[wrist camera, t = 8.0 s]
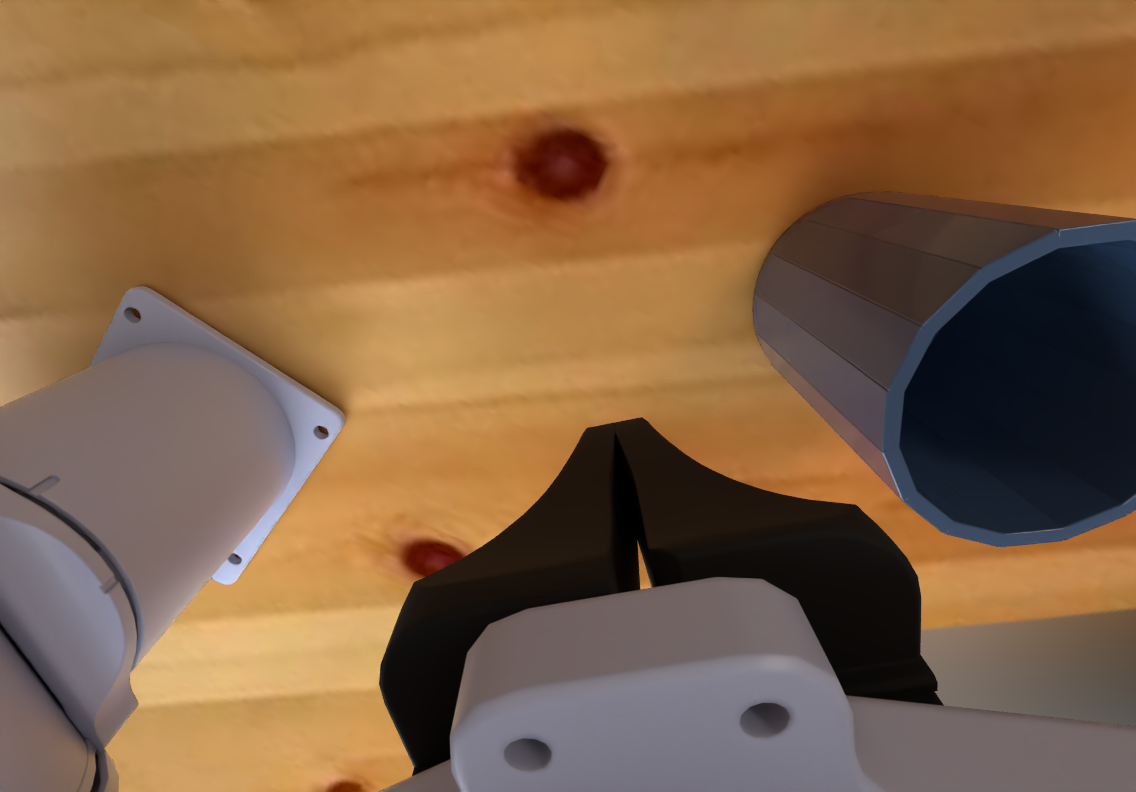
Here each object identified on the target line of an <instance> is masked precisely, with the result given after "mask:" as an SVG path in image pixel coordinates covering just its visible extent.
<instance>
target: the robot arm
mask: <svg viewBox="0 0 1136 792" xmlns="http://www.w3.org/2000/svg"><path fill="white" fill-rule="evenodd" d="M133 308H135V309H136V310H137V311H138V312H139V313H140V316H141V318H140V319H138V318H137V317H136V316H134V314H133V311H132V310H133ZM344 424H345V416H344V414H343V412H342V411H341V410H340V409H339V408H337V407H336V406H334V405H333V404H331V403H329V402H328V401H326V400H325V399H323V398H322V397H320V396H318V395H317V394H315V393H314V392H312V391H311V390H309V389H307V388H306V387H304V386H303V385H301V384H300V383H298V382H296V381H295V380H293V379H292V378H290V377H289V376H287V375H285V374H284V373H282V372H281V371H279V370H278V369H276V368H274V367H273V366H271V365H270V364H268V363H267V362H265V361H264V360H262V359H260V358H259V357H257V356H256V355H254V354H253V353H251V352H249V351H248V350H246V349H245V348H243V347H242V346H240V345H238V344H237V343H235V342H234V341H232V340H231V339H229V338H227V337H226V336H224V335H223V334H221V333H220V332H218V331H216V330H215V329H213V328H212V327H210V326H209V325H207V324H206V323H204V322H202V321H201V320H199V319H198V318H196V317H195V316H193V315H191V314H190V313H188V312H187V311H185V310H184V309H182V308H180V307H179V306H177V305H176V304H174V303H173V302H171V301H169V300H168V299H166V298H165V297H163V296H162V295H160V294H158V293H157V292H155V291H154V290H152V289H150V288H148V287H146V286H138V287H134V288H131V289H129V290H127V291H126V293H125V294H124V296H123V298H122V300H121V302H120V304H119V306H118V308H117V310H116V312H115V314H114V316H113V318H112V320H111V322H110V324H109V327H108V329H107V331H106V333H105V335H104V337H103V339H102V341H101V343H100V345H99V347H98V349H97V351H96V353H95V355H94V357H93V359H92V361H91V363H90V365H89V367H88V368H87V369H85V370H83V371H80V372H78V373H76V374H74V375H71V376H69V377H67V378H65V379H62V380H60V381H58V382H56V383H53V384H51V385H49V386H47V387H44V388H42V389H40V390H37V391H35V392H33V393H31V394H28V395H26V396H24V397H22V398H19V399H17V400H15V401H13V402H10V403H8V404H6V405H4V406H1V407H0V792H119V777H118V773H117V770H116V767H115V764H114V761H113V760H112V759H111V757H110V756H109V754H108V753H107V752H106V750H105V749H104V748H105V747H106V746H107V744H108V743H109V742H110V740H111V739H112V738H113V737H114V735H115V734H116V733H117V732H118V730H119V729H120V728H121V726H122V725H123V724H124V723H125V721H126V720H127V719H128V718H129V716H130V715H131V714H132V712H133V711H134V710H135V709H136V707H137V706H138V701H137V699H136V697H135V695H134V693H133V692H132V689H131V685H130V673H131V671H132V670H133V669H134V668H135V667H136V666H137V664H138V663H139V662H140V661H141V660H142V658H143V657H144V656H145V655H146V654H147V653H148V651H149V650H150V649H151V648H152V647H153V646H154V644H155V643H156V642H157V641H158V640H159V638H160V637H161V636H162V635H163V634H164V633H165V631H166V630H167V629H168V628H169V627H170V625H171V624H172V623H173V622H174V621H175V620H176V618H177V617H178V616H179V615H180V614H181V613H182V611H183V610H184V609H185V608H186V607H187V605H188V604H189V603H190V602H191V601H192V600H193V598H194V597H195V596H196V595H197V594H198V592H199V591H200V590H201V589H202V588H203V587H204V585H205V584H206V583H207V582H208V581H209V579H210V578H211V579H213V580H215V581H217V582H219V583H221V584H232V583H234V582H235V581H236V580H237V579H238V577H239V576H240V575H241V573H242V572H243V570H244V569H245V568H246V566H247V565H248V563H249V562H250V560H251V559H252V558H253V556H254V555H255V553H256V552H257V550H258V549H259V547H260V546H261V545H262V543H263V542H264V540H265V539H266V537H267V536H268V534H269V533H270V532H271V530H272V529H273V527H274V526H275V524H276V523H277V522H278V520H279V519H280V517H281V516H282V514H283V513H284V511H285V510H286V509H287V507H288V506H289V504H290V503H291V501H292V500H293V498H294V497H295V496H296V494H297V493H298V491H299V490H300V488H301V487H302V486H303V484H304V483H305V481H306V480H307V478H308V477H309V475H310V474H311V473H312V471H313V470H314V468H315V467H316V465H317V464H318V462H319V461H320V460H321V458H322V457H323V455H324V454H325V452H326V451H327V450H328V448H329V447H330V445H331V444H332V442H333V441H334V439H335V438H336V437H337V435H338V434H339V432H340V431H341V429H342V428H343V426H344ZM318 426H323V427H325V428H326V429H327V430H328V433H329V434H323V433H321V432H320V431H319V429H318ZM637 540H638V543H639V546H640V550H641V553H642V556H643V560H644V563H645V566H646V570H647V573H648V576H649V579H650V583H651V586H652V588H648V589H642V590H640V578H639V560H638V543H637ZM234 554H237V555H239V556H240V557H241V558H238V557H236V556H235V555H234ZM920 637H921V593H920V587H919V581H918V576H917V574H916V573H915V571H914V569H913V568H912V566H911V564H910V562H909V561H908V559H907V557H906V556H905V555H904V554H903V553H902V551H901V550H900V549H899V548H898V547H897V545H896V544H895V543H894V542H893V541H892V539H891V538H890V537H889V536H888V535H887V534H886V533H885V532H884V531H883V530H882V529H881V528H880V527H879V526H878V525H877V524H876V523H875V522H874V521H873V520H872V519H871V518H869V517H868V516H867V515H866V514H865V513H864V512H863V511H862V510H861V509H860V508H859V507H858V506H857V505H854V504H844V503H835V502H825V501H816V500H808V499H802V498H797V497H792V496H787V495H782V494H778V493H774V492H770V491H766V490H762V489H759V488H756V487H753V486H750V485H747V484H744V483H741V482H738V481H736V480H733V479H731V478H728V477H726V476H724V475H722V474H719V473H717V472H715V471H713V470H711V469H709V468H707V467H705V466H703V465H701V464H700V463H698V462H696V461H695V460H693V459H692V458H690V457H689V456H687V455H686V454H684V453H683V452H682V451H680V450H679V449H678V448H676V447H675V446H674V445H673V444H671V443H670V442H669V441H668V440H666V439H665V438H664V437H663V436H662V435H661V434H660V433H658V432H657V431H656V430H655V429H654V428H653V427H652V426H651V425H650V423H649V422H648V421H646V420H645V419H644V418H642V417H641V418H636V419H631V420H626V421H621V422H616V423H610V424H605V425H600V426H595V427H590V428H587V429H586V430H585V431H584V433H583V434H582V436H581V438H580V440H579V442H578V444H577V446H576V448H575V449H574V451H573V453H572V455H571V456H570V458H569V459H568V461H567V463H566V464H565V466H564V467H563V469H562V470H561V472H560V473H559V475H558V476H557V478H556V479H555V480H554V482H553V483H552V484H551V486H550V487H549V488H548V490H547V491H546V492H545V493H544V494H543V495H542V496H541V498H540V499H539V500H538V501H537V502H536V503H535V504H534V505H533V506H532V507H531V508H530V509H529V510H528V511H527V512H526V513H525V514H523V515H522V516H521V517H520V518H519V519H518V520H516V521H515V522H514V523H513V524H511V525H510V526H509V527H508V528H506V529H505V530H504V531H503V532H502V533H500V534H499V535H498V536H496V537H495V538H494V539H492V540H491V541H489V542H488V543H486V544H485V545H483V546H482V547H480V548H479V549H477V550H475V551H474V552H472V553H471V554H469V555H467V556H466V557H464V558H462V559H460V560H459V561H457V562H455V563H453V564H451V565H449V566H447V567H445V568H443V569H441V570H439V571H437V572H435V573H433V574H431V575H429V576H427V577H425V578H423V579H420V580H418V581H416V582H414V584H413V586H412V588H411V590H410V592H409V594H408V596H407V598H406V600H405V602H404V604H403V606H402V609H401V612H400V614H399V617H398V619H397V622H396V624H395V627H394V630H393V633H392V635H391V638H390V641H389V643H388V646H387V649H386V652H385V654H384V657H383V660H382V662H381V668H380V681H379V685H380V689H381V692H382V696H383V699H384V703H385V705H386V707H387V710H388V712H389V714H390V716H391V718H392V720H393V723H394V725H395V727H396V729H397V731H398V733H399V735H400V738H401V740H402V742H403V744H404V746H405V748H406V751H407V753H408V755H409V757H410V759H411V761H412V764H413V766H414V771H413V775H412V777H410V778H407V779H405V780H403V781H401V782H399V783H396V784H394V785H392V786H390V787H388V788H385V789H383V790H381V791H379V792H1136V726H1130V725H1121V724H1111V723H1102V722H1092V721H1083V720H1073V719H1064V718H1055V717H1046V716H1036V715H1026V714H1017V713H1008V712H998V711H989V710H979V709H970V708H961V707H951V706H944V705H943V703H942V702H941V701H940V699H939V698H938V696H937V695H936V693H935V692H934V691H937V681H936V678H935V675H934V674H933V672H932V671H931V669H930V668H929V666H928V665H927V663H926V662H925V661H924V659H923V658H922V656H921V655H920V639H921V638H920Z"/></svg>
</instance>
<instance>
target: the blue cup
mask: <svg viewBox="0 0 1136 792" xmlns="http://www.w3.org/2000/svg"><path fill="white" fill-rule="evenodd" d="M753 322H754V327H755V332H756V335H757V338H758V341H759V343H760V346H761V348H762V349H763V351H764V353H765V355H766V356H767V358H768V359H769V360H770V362H771V365H772V366H773V367H774V368H775V369H776V370H777V371H778V372H779V373H780V374H781V375H782V377H783V378H784V379H785V380H786V381H787V382H788V383H789V384H790V385H791V386H792V387H793V388H794V389H795V390H796V391H797V392H798V393H799V394H800V395H801V396H802V397H803V398H804V399H805V400H806V401H807V403H808V404H809V405H810V406H811V407H812V408H813V409H814V410H815V411H816V412H817V413H818V414H819V415H820V416H821V417H822V418H823V419H824V420H825V421H826V422H827V423H828V424H829V425H830V426H831V427H832V428H833V430H834V431H835V432H836V433H837V434H838V435H839V436H840V437H841V438H842V439H843V440H844V441H845V442H846V443H847V444H848V445H849V446H850V447H851V448H852V449H853V450H854V451H855V452H856V453H857V454H858V455H859V457H860V458H861V459H862V460H863V461H864V462H865V463H866V464H867V465H868V466H869V467H870V468H871V469H872V470H873V471H874V472H875V473H876V474H877V475H878V476H879V477H880V478H881V479H882V480H883V481H884V483H885V484H886V485H887V486H888V487H889V488H890V489H891V490H892V491H893V492H894V493H895V494H896V495H897V496H898V497H899V498H900V499H901V500H902V501H903V502H904V503H905V504H907V505H908V506H909V507H910V508H912V509H913V510H914V511H915V512H917V513H918V514H919V515H920V516H922V517H923V518H924V519H925V520H927V521H928V522H929V523H930V524H932V525H933V526H934V527H935V528H937V529H938V530H939V531H940V532H942V533H944V534H947V535H951V536H955V537H960V538H964V539H968V540H972V541H976V542H980V543H984V544H988V545H992V546H996V547H1007V546H1017V545H1027V544H1037V543H1047V542H1057V541H1062V540H1067V539H1069V538H1072V537H1074V536H1077V535H1079V534H1082V533H1084V532H1087V531H1089V530H1092V529H1094V528H1097V527H1099V526H1102V525H1104V524H1107V523H1109V522H1112V521H1114V520H1117V519H1119V518H1122V517H1124V516H1127V514H1130V513H1132V512H1133V511H1134V510H1136V219H1133V218H1124V217H1116V216H1107V215H1098V214H1089V213H1080V212H1071V211H1062V210H1053V209H1044V208H1035V207H1027V206H1018V205H1009V204H1000V203H991V202H982V201H973V200H964V199H955V198H946V197H938V196H929V195H920V194H911V193H902V192H893V191H884V192H864V193H856V194H851V195H846V196H843V197H840V198H837V199H834V200H831V201H829V202H827V203H825V204H823V205H820V206H818V207H817V208H815V209H813V210H812V211H810V212H809V213H807V214H805V215H804V216H803V217H802V218H800V219H799V220H798V221H797V222H795V223H794V224H793V225H792V226H791V227H790V228H789V229H788V230H787V231H786V232H785V233H784V234H783V235H782V236H781V238H780V239H779V240H778V241H777V243H776V244H775V245H774V247H773V248H772V250H771V251H770V253H769V255H768V256H767V258H766V260H765V262H764V264H763V266H762V268H761V271H760V273H759V276H758V279H757V282H756V286H755V291H754V297H753Z"/></svg>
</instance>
